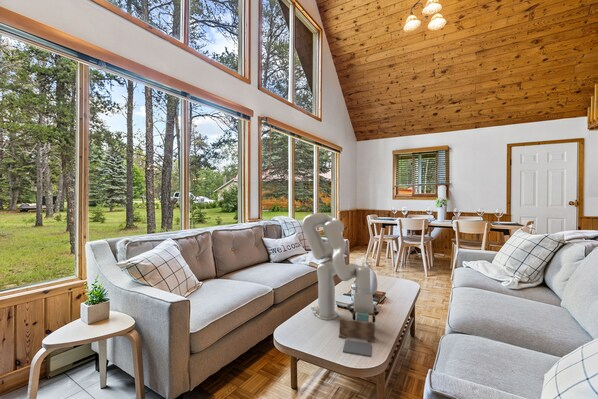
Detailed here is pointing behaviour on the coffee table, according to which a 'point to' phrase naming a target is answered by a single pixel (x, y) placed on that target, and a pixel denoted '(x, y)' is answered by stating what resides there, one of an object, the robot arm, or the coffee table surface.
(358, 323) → the screen
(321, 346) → the coffee table surface
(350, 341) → the mat
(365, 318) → the letter cube
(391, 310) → the coffee table surface
